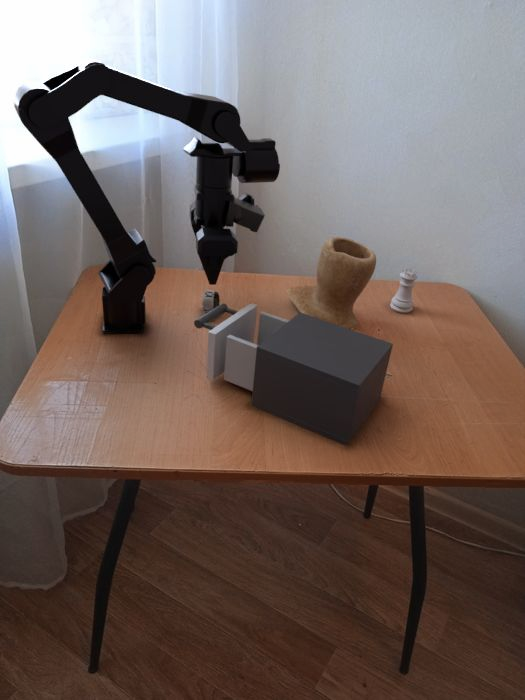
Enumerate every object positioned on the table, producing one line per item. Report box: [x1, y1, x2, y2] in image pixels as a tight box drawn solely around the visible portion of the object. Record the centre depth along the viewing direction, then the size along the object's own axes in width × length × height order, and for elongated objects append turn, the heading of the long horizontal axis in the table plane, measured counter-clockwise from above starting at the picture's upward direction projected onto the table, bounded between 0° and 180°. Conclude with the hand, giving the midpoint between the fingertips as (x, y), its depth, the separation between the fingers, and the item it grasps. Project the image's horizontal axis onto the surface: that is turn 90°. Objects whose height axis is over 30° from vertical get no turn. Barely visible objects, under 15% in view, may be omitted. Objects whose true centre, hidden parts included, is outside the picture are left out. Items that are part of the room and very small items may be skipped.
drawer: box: [193, 302, 290, 392], centre depth 83 cm, size 18×12×8 cm, turn 60°
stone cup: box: [286, 236, 377, 330], centre depth 101 cm, size 15×12×15 cm
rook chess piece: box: [389, 268, 418, 314], centre depth 108 cm, size 4×4×8 cm
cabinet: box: [250, 312, 394, 446], centre depth 79 cm, size 15×13×10 cm
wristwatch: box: [201, 289, 221, 316], centre depth 101 cm, size 3×5×5 cm
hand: (209, 273), depth 98 cm, fingers open, 9 cm apart
